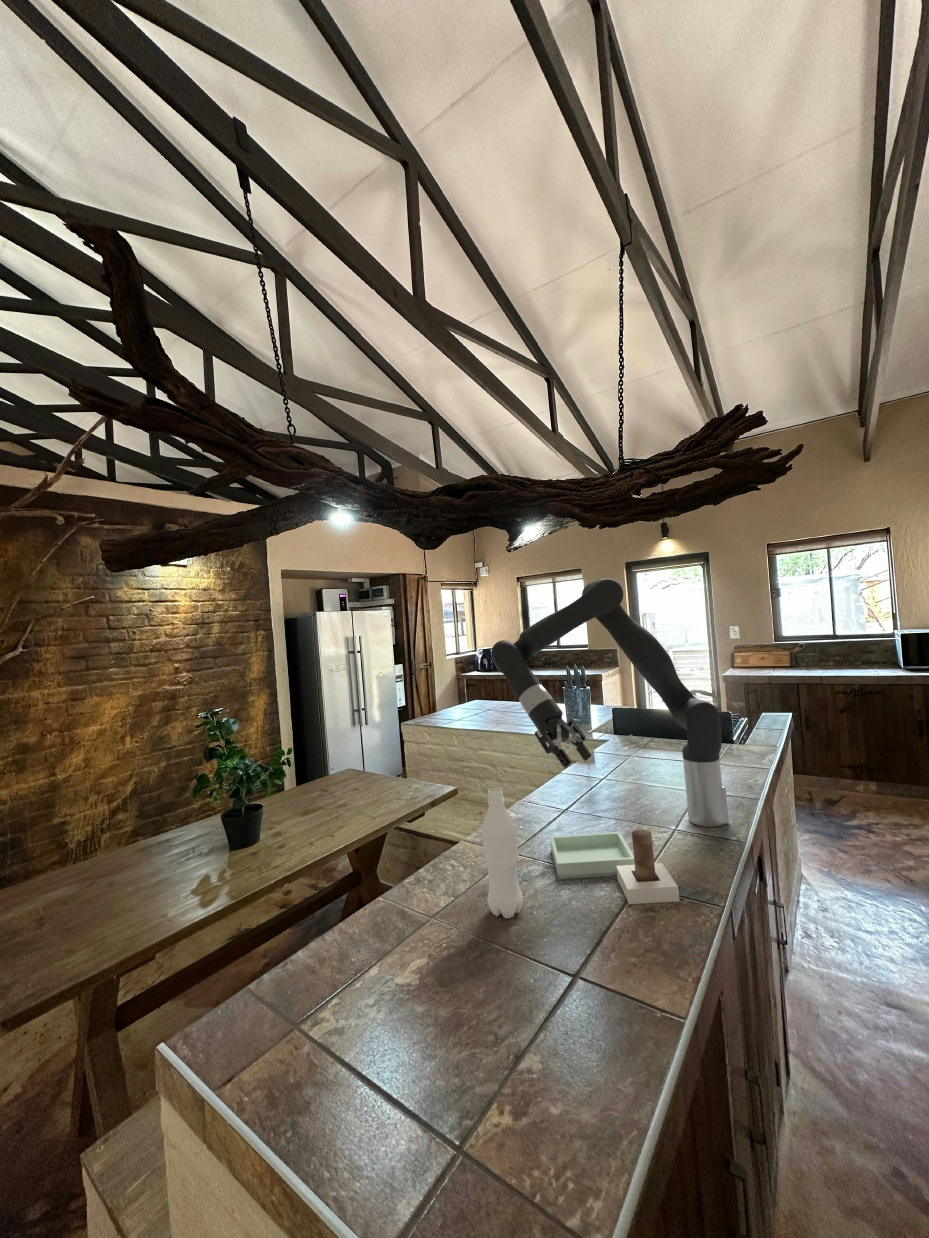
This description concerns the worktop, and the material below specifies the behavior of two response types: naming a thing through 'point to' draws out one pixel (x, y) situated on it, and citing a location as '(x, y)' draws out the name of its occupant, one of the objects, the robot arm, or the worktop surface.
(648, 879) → the dowel
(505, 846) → the water bottle
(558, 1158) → the worktop surface
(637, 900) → the dowel block
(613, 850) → the tray
